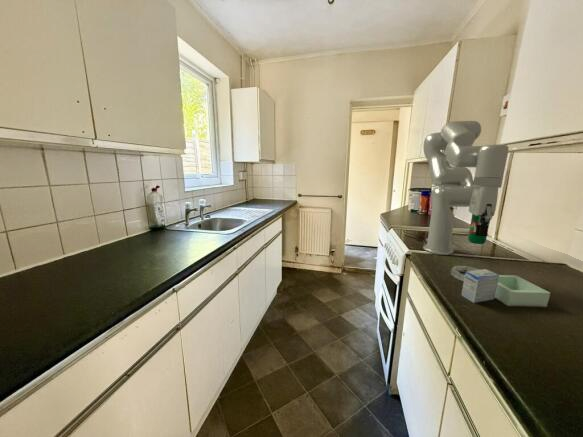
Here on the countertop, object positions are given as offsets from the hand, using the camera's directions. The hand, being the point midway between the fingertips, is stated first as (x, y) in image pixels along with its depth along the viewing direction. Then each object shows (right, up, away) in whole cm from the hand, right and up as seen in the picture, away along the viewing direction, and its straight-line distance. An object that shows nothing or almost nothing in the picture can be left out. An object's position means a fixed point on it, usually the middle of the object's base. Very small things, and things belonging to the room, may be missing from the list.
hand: (478, 233), depth 82 cm
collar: (0, -17, +4) cm, 17 cm away
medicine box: (-8, -20, -9) cm, 24 cm away
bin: (+3, -20, -9) cm, 22 cm away
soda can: (0, -4, +1) cm, 4 cm away
